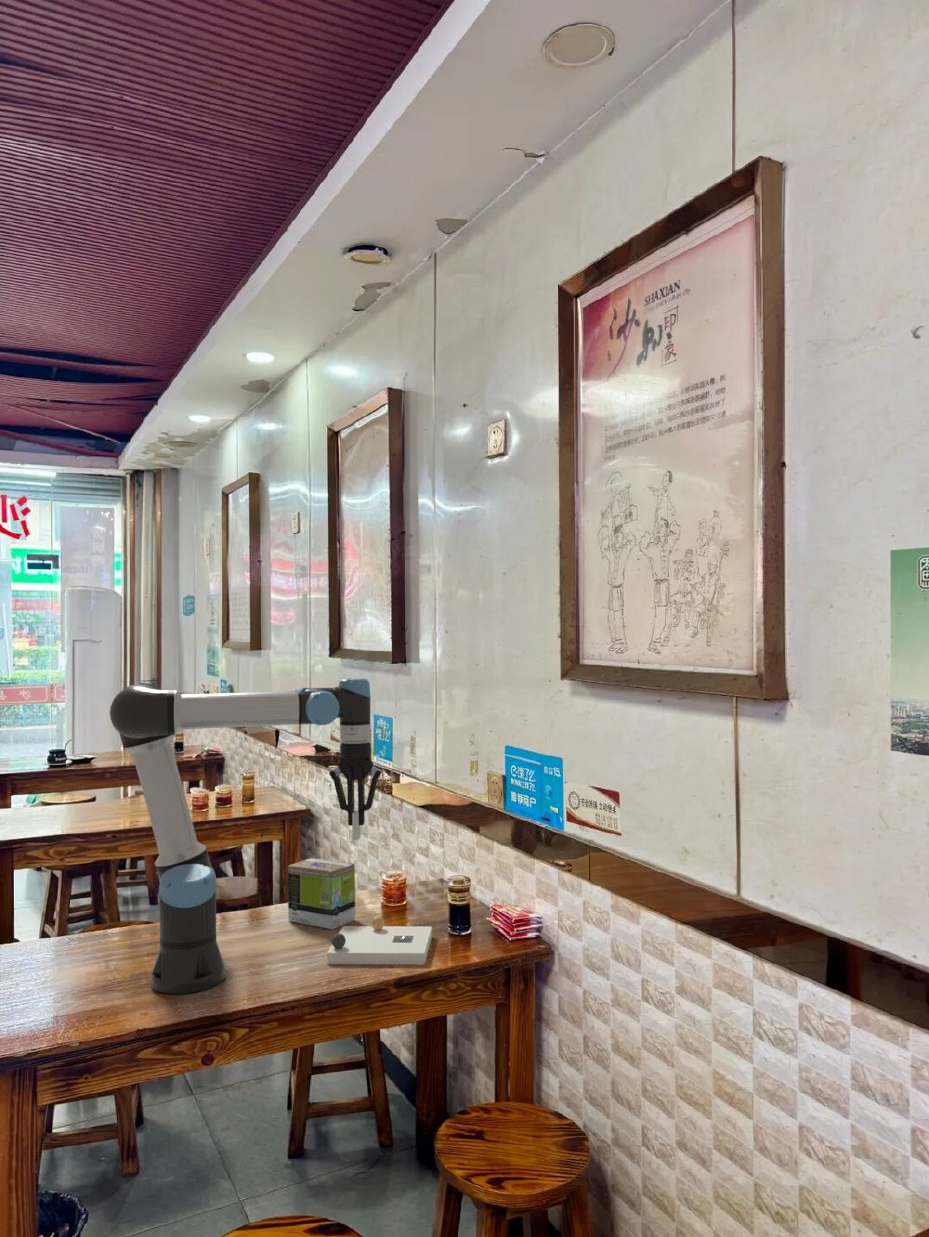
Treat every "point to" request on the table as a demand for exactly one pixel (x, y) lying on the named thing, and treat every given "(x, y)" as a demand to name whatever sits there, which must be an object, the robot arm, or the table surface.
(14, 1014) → the table surface
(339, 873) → the tea box
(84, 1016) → the table surface
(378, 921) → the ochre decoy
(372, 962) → the platform
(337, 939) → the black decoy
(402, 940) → the steel ball
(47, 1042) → the table surface
